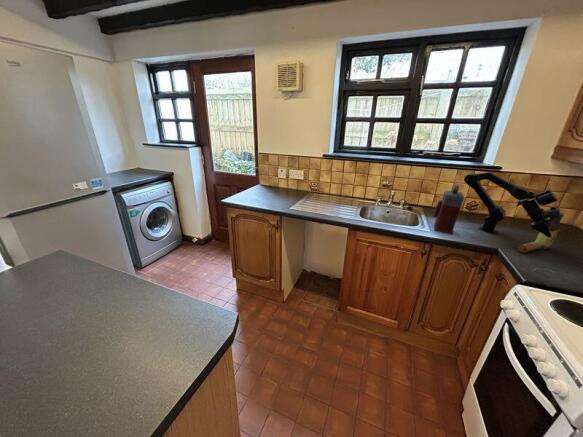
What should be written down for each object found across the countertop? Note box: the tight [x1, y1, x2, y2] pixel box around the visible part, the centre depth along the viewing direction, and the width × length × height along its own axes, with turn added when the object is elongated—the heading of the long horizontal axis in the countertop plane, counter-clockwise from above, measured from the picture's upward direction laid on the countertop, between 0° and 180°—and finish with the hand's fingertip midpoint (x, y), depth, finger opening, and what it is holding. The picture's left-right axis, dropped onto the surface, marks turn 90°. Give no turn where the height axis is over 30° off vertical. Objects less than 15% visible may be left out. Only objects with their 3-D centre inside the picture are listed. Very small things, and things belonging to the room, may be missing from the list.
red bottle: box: [433, 184, 465, 235], centre depth 142 cm, size 9×11×28 cm
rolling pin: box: [517, 241, 542, 254], centre depth 127 cm, size 16×4×4 cm, turn 111°
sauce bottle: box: [534, 212, 565, 250], centre depth 128 cm, size 6×6×20 cm
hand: (551, 235), depth 128 cm, fingers closed on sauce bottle, 6 cm apart
